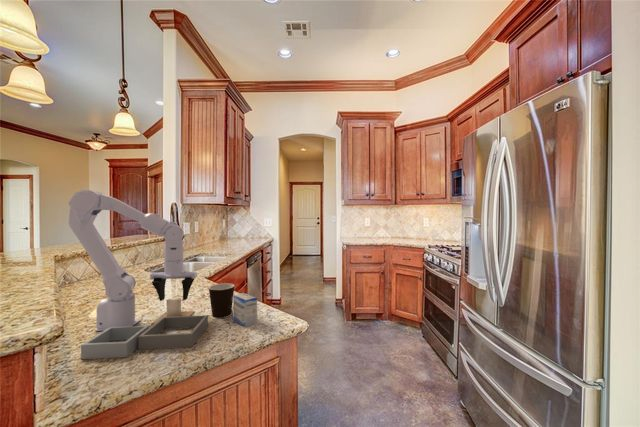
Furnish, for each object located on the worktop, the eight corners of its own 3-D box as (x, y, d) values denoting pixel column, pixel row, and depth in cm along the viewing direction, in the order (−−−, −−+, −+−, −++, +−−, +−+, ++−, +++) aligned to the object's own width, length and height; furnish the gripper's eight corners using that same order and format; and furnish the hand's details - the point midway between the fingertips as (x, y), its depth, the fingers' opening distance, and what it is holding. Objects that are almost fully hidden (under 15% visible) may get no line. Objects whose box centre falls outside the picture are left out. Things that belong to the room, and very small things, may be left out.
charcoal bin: (138, 349, 71) (138, 336, 71) (163, 328, 85) (163, 316, 85) (191, 347, 73) (191, 334, 73) (207, 326, 86) (207, 315, 86)
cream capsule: (164, 319, 90) (164, 301, 90) (169, 315, 95) (169, 297, 95) (178, 319, 91) (178, 301, 91) (182, 314, 95) (182, 297, 96)
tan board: (151, 324, 88) (151, 323, 88) (165, 313, 98) (165, 312, 98) (183, 323, 89) (183, 322, 89) (194, 312, 99) (194, 311, 99)
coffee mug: (226, 320, 91) (226, 290, 91) (203, 318, 93) (203, 289, 93) (242, 308, 103) (242, 282, 103) (222, 306, 104) (222, 280, 104)
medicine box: (232, 321, 91) (232, 295, 91) (244, 317, 94) (244, 292, 94) (245, 327, 85) (245, 300, 85) (257, 323, 88) (257, 297, 88)
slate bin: (81, 359, 67) (80, 345, 67) (110, 339, 77) (110, 327, 77) (126, 356, 68) (126, 343, 68) (149, 337, 78) (149, 325, 78)
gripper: (145, 262, 88) (145, 304, 88) (191, 261, 90) (191, 302, 90) (156, 258, 95) (156, 297, 95) (198, 258, 97) (198, 296, 97)
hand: (173, 299), depth 93 cm, fingers open, 7 cm apart
